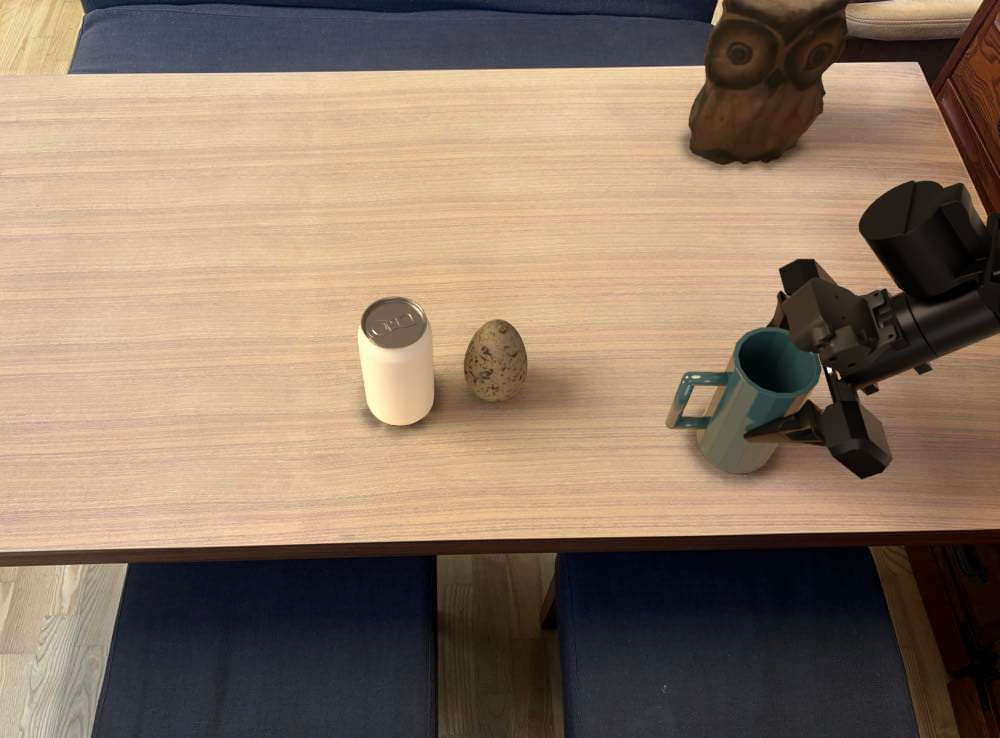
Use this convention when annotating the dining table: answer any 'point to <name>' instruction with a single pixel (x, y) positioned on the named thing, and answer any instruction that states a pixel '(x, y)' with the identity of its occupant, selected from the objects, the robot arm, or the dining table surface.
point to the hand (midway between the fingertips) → (737, 402)
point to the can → (397, 360)
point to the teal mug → (747, 397)
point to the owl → (764, 77)
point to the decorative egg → (495, 361)
